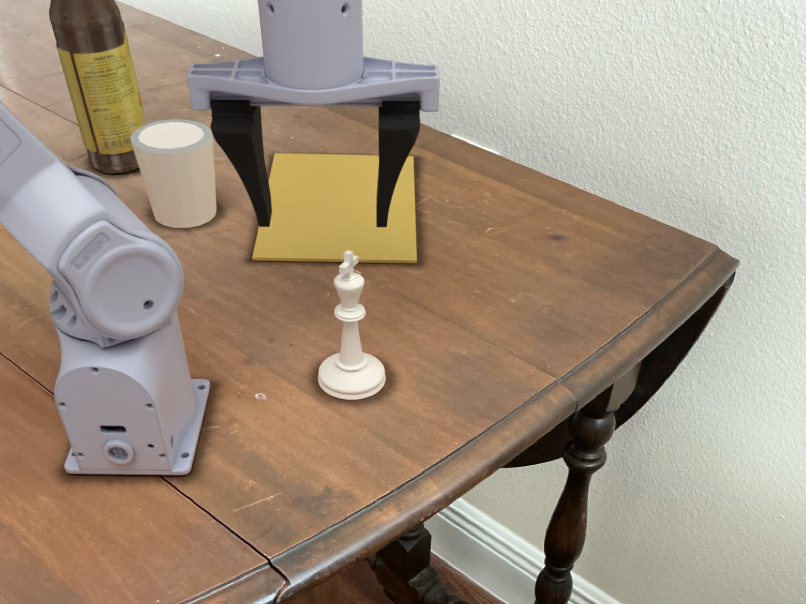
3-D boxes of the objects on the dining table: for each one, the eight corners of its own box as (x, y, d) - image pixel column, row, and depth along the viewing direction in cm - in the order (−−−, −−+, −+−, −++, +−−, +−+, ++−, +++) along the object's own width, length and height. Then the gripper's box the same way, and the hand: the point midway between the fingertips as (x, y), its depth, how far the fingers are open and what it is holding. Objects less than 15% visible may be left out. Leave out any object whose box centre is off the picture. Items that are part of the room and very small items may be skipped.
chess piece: (304, 386, 60) (294, 259, 53) (339, 351, 63) (335, 225, 56) (364, 408, 59) (362, 281, 52) (397, 370, 62) (400, 245, 55)
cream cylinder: (207, 235, 74) (195, 156, 69) (134, 226, 75) (116, 146, 70) (233, 199, 79) (223, 122, 73) (164, 191, 79) (149, 113, 74)
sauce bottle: (166, 155, 84) (120, -87, 69) (128, 181, 80) (72, -70, 66) (112, 142, 86) (57, -97, 71) (73, 168, 82) (6, -80, 67)
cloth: (416, 263, 72) (416, 260, 72) (252, 260, 72) (252, 257, 71) (413, 158, 85) (413, 155, 85) (274, 155, 85) (274, 152, 85)
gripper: (439, -39, 48) (430, 190, 59) (185, -42, 48) (221, 190, 58) (445, 2, 44) (435, 243, 54) (164, -1, 43) (207, 243, 54)
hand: (323, 219), depth 56 cm, fingers open, 7 cm apart
